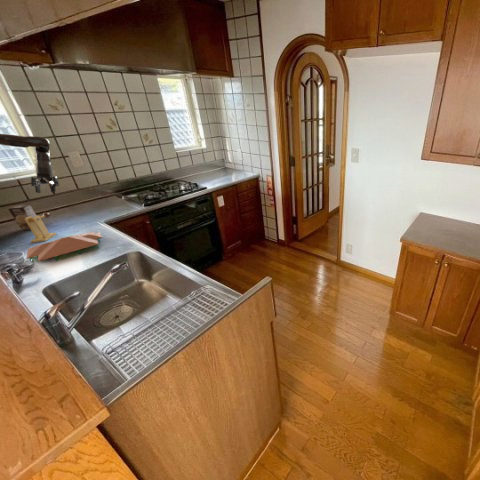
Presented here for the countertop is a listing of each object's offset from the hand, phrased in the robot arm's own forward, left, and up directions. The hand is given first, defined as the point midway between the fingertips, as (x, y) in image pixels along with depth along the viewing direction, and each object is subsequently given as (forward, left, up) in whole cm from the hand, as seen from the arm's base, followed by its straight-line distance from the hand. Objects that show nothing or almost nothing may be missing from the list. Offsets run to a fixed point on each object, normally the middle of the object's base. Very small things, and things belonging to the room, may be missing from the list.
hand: (45, 192), depth 174 cm
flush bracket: (-7, -20, -24) cm, 32 cm away
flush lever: (-5, -15, -14) cm, 21 cm away
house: (+10, -51, -24) cm, 57 cm away
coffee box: (-18, +8, -24) cm, 32 cm away
